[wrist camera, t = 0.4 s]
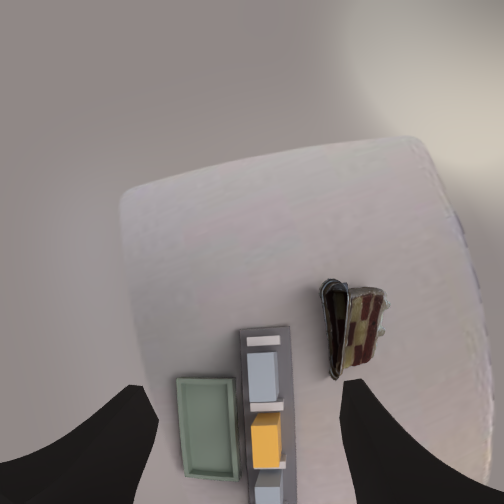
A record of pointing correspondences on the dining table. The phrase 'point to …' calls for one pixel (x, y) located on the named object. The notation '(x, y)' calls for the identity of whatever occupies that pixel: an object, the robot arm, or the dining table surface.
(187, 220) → the dining table surface
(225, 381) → the tray
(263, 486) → the block
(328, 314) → the chocolate cake
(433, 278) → the dining table surface
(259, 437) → the block
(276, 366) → the block
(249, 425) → the block
